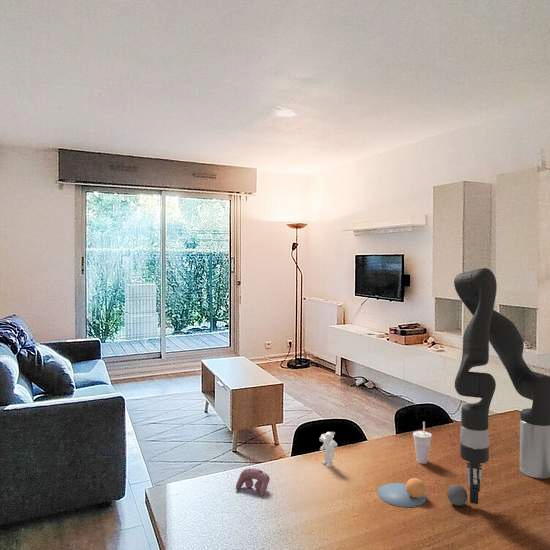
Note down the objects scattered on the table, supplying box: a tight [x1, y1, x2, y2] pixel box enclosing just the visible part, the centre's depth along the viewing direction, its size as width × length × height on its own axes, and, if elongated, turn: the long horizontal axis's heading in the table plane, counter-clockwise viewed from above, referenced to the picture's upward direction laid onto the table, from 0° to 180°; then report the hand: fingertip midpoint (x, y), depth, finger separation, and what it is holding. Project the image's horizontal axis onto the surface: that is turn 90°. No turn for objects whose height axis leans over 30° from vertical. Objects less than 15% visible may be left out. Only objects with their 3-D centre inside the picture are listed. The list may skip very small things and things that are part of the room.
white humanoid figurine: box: [319, 431, 338, 468], centre depth 159 cm, size 9×4×12 cm, turn 24°
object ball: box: [405, 477, 426, 498], centre depth 136 cm, size 6×6×6 cm
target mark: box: [377, 482, 427, 508], centre depth 138 cm, size 14×14×1 cm
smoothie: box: [412, 421, 433, 465], centre depth 161 cm, size 6×6×14 cm
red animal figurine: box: [235, 468, 271, 497], centre depth 142 cm, size 10×5×7 cm, turn 66°
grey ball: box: [446, 484, 469, 507], centre depth 132 cm, size 6×6×6 cm
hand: (473, 502), depth 131 cm, fingers closed
